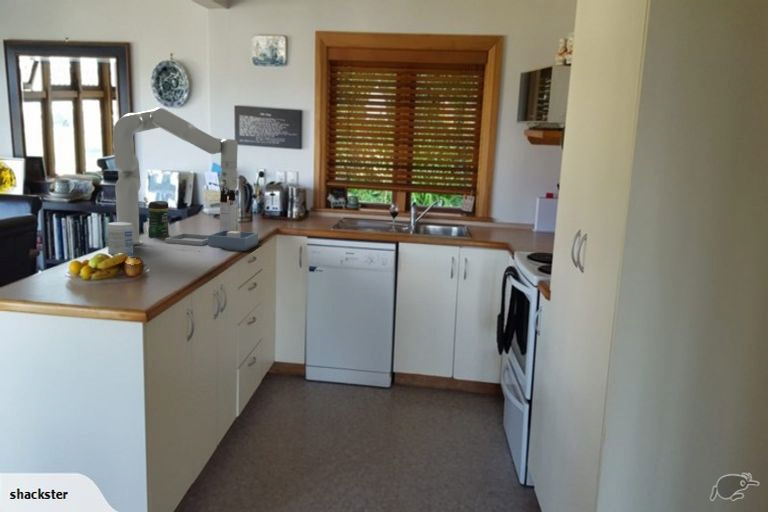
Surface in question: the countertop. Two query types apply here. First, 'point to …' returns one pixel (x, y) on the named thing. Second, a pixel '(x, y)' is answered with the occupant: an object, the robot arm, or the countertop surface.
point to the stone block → (234, 234)
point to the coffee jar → (158, 219)
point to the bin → (233, 240)
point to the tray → (188, 239)
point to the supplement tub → (120, 238)
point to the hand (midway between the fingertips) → (227, 201)
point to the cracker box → (229, 215)
